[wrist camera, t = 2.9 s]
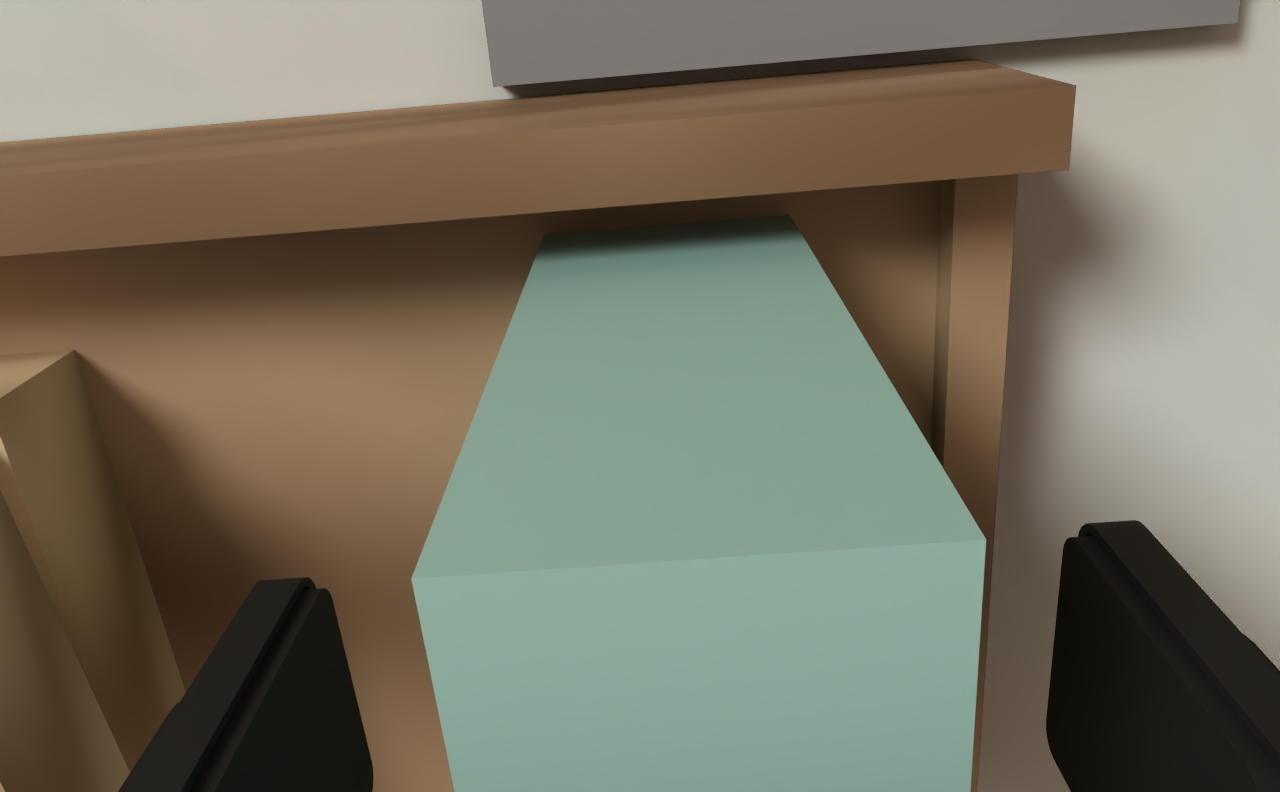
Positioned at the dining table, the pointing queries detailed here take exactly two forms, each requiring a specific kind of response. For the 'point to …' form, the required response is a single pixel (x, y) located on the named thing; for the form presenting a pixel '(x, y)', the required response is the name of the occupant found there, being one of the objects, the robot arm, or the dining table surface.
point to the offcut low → (84, 543)
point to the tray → (473, 308)
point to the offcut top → (45, 690)
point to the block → (698, 538)
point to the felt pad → (789, 30)
